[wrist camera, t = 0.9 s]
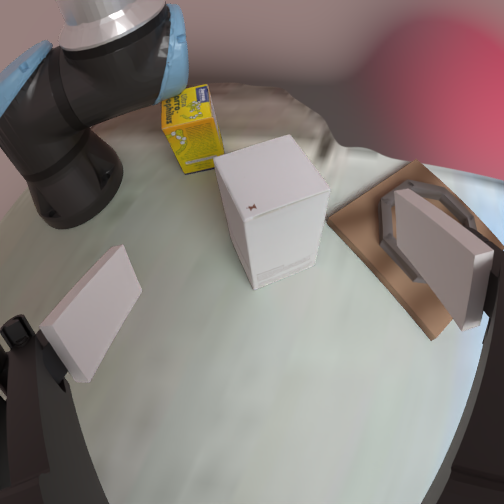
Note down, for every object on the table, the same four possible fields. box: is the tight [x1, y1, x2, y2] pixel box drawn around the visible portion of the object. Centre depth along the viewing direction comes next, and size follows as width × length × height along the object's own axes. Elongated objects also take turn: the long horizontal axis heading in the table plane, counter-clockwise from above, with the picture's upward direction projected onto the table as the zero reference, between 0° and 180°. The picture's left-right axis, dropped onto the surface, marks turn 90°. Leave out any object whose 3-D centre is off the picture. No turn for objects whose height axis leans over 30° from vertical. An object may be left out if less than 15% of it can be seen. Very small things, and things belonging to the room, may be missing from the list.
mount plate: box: [327, 159, 504, 341], centre depth 33 cm, size 18×18×3 cm
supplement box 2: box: [213, 135, 331, 290], centre depth 29 cm, size 7×7×13 cm
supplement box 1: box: [161, 84, 225, 175], centre depth 37 cm, size 6×6×11 cm
